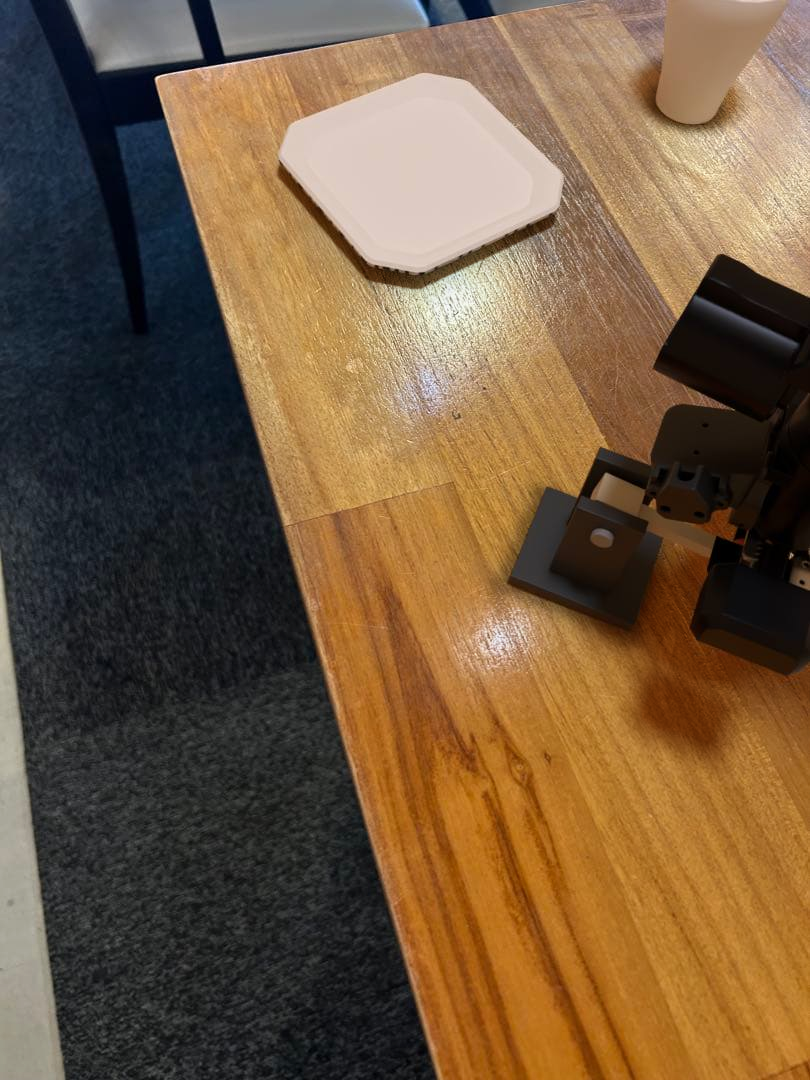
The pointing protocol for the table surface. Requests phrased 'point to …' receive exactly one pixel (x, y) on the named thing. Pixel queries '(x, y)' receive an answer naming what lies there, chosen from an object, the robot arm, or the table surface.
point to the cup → (709, 52)
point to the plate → (420, 173)
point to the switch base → (591, 548)
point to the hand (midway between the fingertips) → (730, 576)
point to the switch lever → (652, 515)
